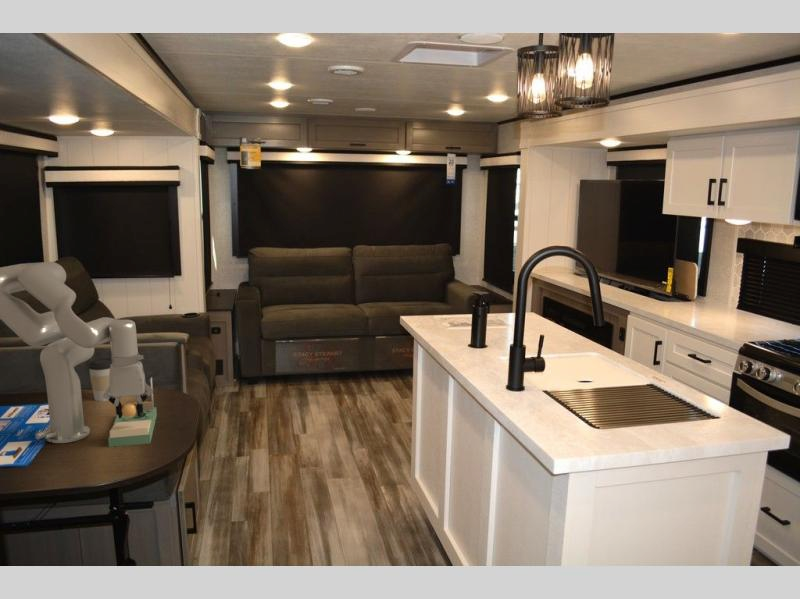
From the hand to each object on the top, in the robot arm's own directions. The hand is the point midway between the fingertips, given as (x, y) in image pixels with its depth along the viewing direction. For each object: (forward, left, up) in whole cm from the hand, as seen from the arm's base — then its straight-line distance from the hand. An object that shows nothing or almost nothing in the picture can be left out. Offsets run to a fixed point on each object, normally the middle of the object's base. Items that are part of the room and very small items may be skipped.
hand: (130, 415), depth 201 cm
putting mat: (+7, +7, -9) cm, 13 cm away
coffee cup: (+21, +41, -9) cm, 47 cm away
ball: (0, 0, +2) cm, 2 cm away
